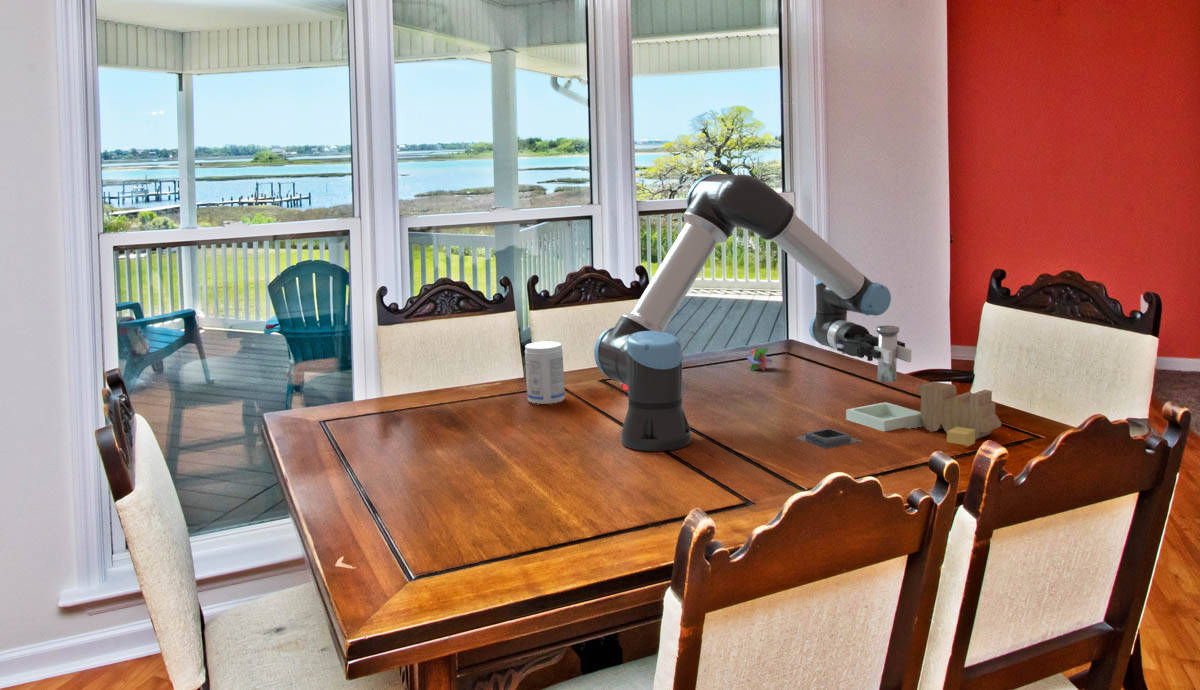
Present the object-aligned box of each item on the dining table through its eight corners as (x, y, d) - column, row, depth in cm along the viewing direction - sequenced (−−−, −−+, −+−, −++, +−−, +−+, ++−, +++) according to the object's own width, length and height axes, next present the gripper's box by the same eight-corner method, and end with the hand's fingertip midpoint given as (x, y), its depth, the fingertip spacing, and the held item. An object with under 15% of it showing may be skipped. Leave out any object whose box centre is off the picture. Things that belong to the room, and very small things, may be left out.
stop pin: (886, 383, 223) (887, 330, 221) (871, 379, 228) (872, 327, 225) (902, 380, 226) (904, 327, 223) (887, 376, 230) (888, 324, 227)
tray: (884, 434, 220) (884, 421, 220) (846, 422, 231) (846, 409, 230) (924, 426, 226) (924, 413, 225) (885, 415, 236) (885, 402, 236)
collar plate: (825, 452, 209) (825, 443, 209) (794, 441, 218) (794, 432, 217) (862, 444, 214) (862, 435, 213) (830, 433, 222) (830, 425, 222)
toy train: (987, 443, 212) (989, 397, 211) (915, 428, 225) (916, 384, 223) (1000, 438, 216) (1002, 392, 214) (929, 423, 229) (930, 380, 227)
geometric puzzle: (780, 364, 284) (769, 339, 287) (761, 367, 281) (750, 342, 284) (767, 375, 290) (756, 351, 293) (748, 378, 287) (737, 353, 290)
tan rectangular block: (965, 448, 209) (966, 434, 208) (946, 445, 212) (947, 431, 211) (974, 443, 213) (975, 429, 212) (956, 440, 215) (956, 426, 215)
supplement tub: (561, 395, 264) (559, 339, 261) (568, 403, 255) (566, 346, 252) (524, 398, 262) (522, 342, 259) (530, 407, 253) (527, 349, 250)
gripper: (881, 350, 245) (934, 370, 223) (816, 356, 241) (863, 376, 219) (882, 320, 244) (935, 337, 221) (816, 325, 240) (864, 342, 218)
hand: (899, 356), depth 220 cm, fingers closed on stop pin, 4 cm apart
